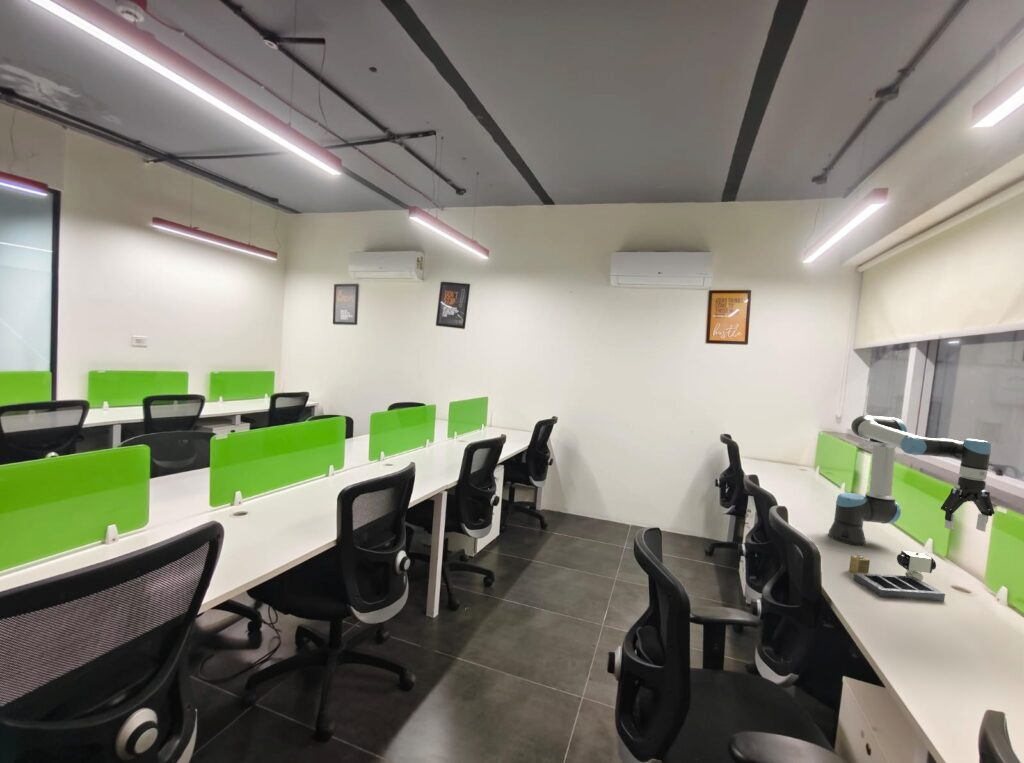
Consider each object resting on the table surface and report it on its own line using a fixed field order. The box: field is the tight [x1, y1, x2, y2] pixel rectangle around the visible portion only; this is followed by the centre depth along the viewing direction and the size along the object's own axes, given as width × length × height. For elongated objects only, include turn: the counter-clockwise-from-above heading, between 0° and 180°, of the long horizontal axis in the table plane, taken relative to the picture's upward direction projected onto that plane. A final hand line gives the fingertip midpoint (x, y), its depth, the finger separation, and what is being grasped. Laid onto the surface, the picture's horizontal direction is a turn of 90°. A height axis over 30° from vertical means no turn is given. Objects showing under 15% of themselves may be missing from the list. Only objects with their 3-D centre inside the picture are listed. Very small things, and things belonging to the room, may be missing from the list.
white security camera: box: [896, 550, 937, 581], centre depth 184 cm, size 6×12×12 cm, turn 78°
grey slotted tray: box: [853, 573, 946, 602], centre depth 174 cm, size 13×25×3 cm, turn 91°
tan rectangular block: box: [848, 554, 871, 574], centre depth 186 cm, size 4×4×8 cm
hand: (964, 529), depth 176 cm, fingers open, 13 cm apart
